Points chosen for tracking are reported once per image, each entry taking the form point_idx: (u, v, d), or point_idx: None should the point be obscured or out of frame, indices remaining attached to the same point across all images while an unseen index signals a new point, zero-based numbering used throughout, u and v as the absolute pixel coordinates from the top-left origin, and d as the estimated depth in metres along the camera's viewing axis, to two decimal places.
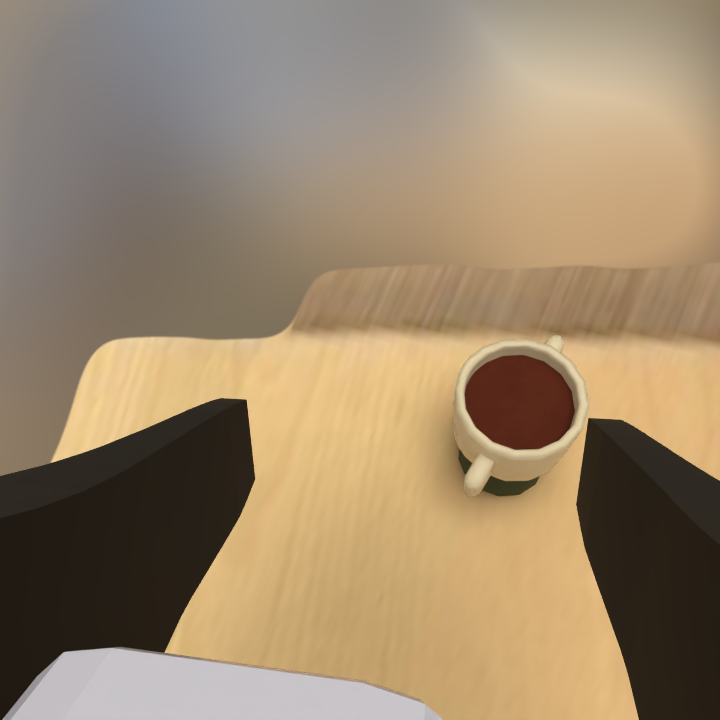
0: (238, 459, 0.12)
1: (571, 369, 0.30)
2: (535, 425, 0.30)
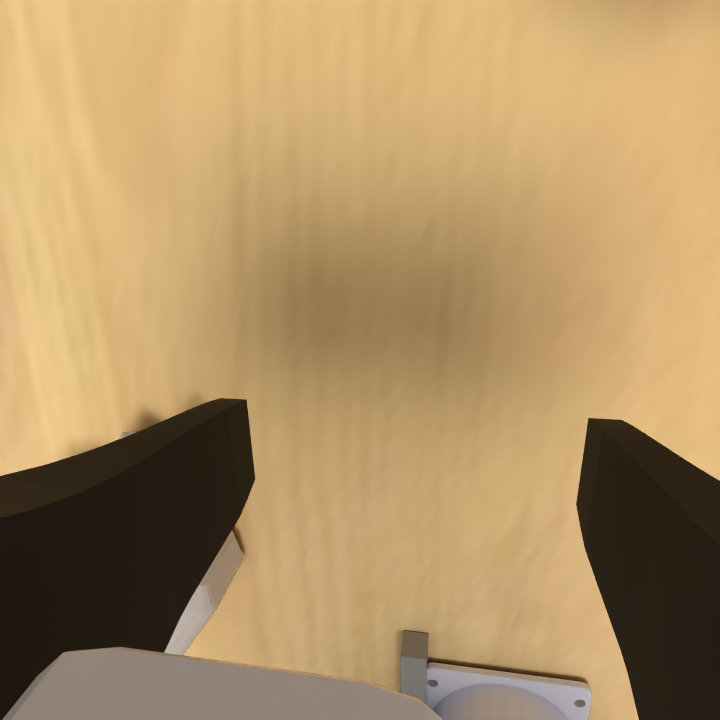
0: (238, 459, 0.12)
1: None
2: None
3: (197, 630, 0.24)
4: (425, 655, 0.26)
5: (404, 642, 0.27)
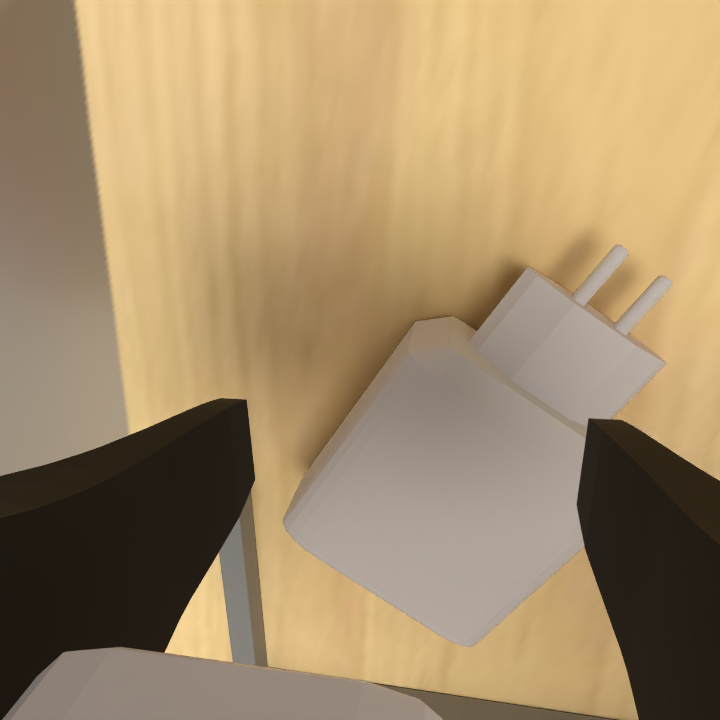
0: (238, 459, 0.12)
1: None
2: None
3: None
4: None
5: None
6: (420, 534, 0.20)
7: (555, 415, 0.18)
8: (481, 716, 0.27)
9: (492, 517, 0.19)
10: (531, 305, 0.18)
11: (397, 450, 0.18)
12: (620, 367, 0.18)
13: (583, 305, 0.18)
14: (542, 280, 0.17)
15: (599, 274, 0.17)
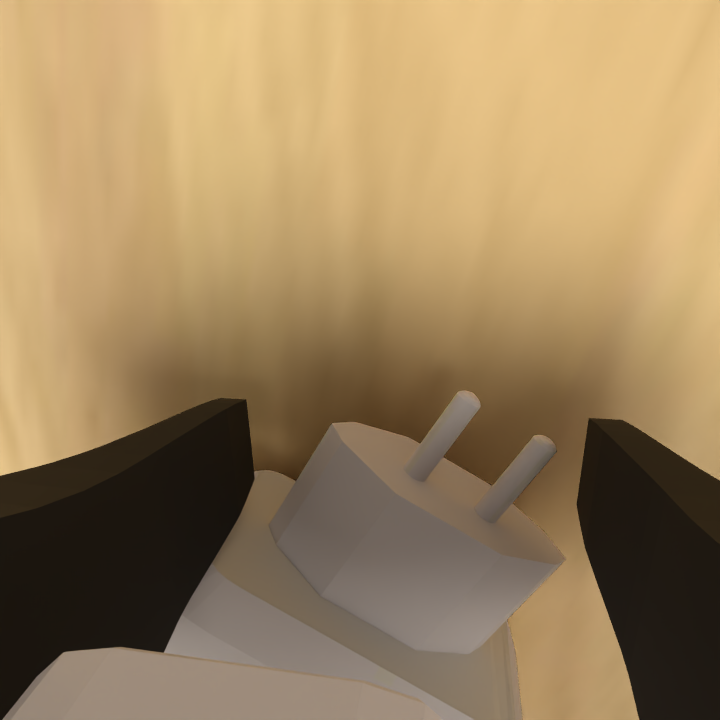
0: (238, 459, 0.12)
1: None
2: None
3: None
4: None
5: None
6: None
7: (388, 657, 0.11)
8: None
9: None
10: (337, 486, 0.11)
11: None
12: (484, 582, 0.11)
13: (422, 481, 0.11)
14: (348, 449, 0.11)
15: (438, 436, 0.11)
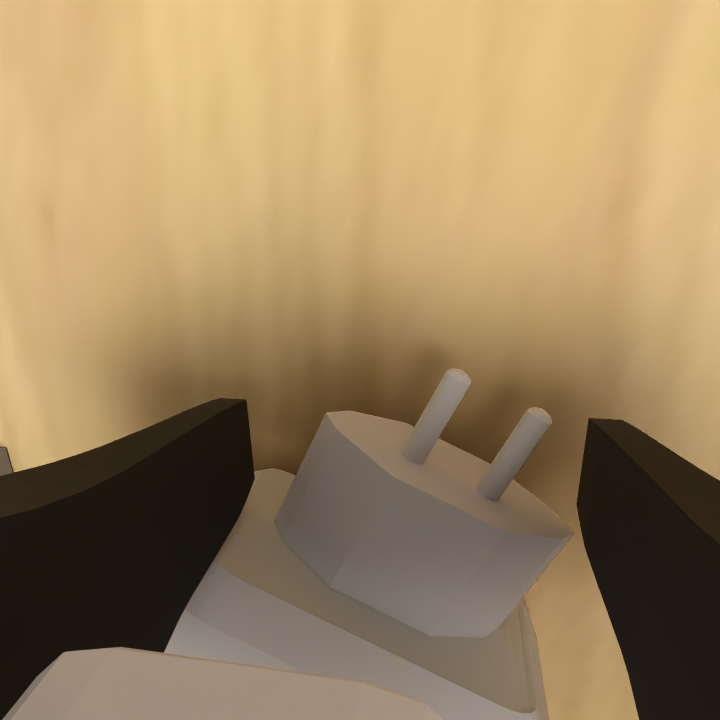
0: (238, 459, 0.12)
1: None
2: None
3: None
4: None
5: None
6: None
7: (400, 644, 0.11)
8: None
9: None
10: (336, 475, 0.11)
11: None
12: (490, 561, 0.11)
13: (420, 464, 0.11)
14: (343, 437, 0.11)
15: (432, 417, 0.11)
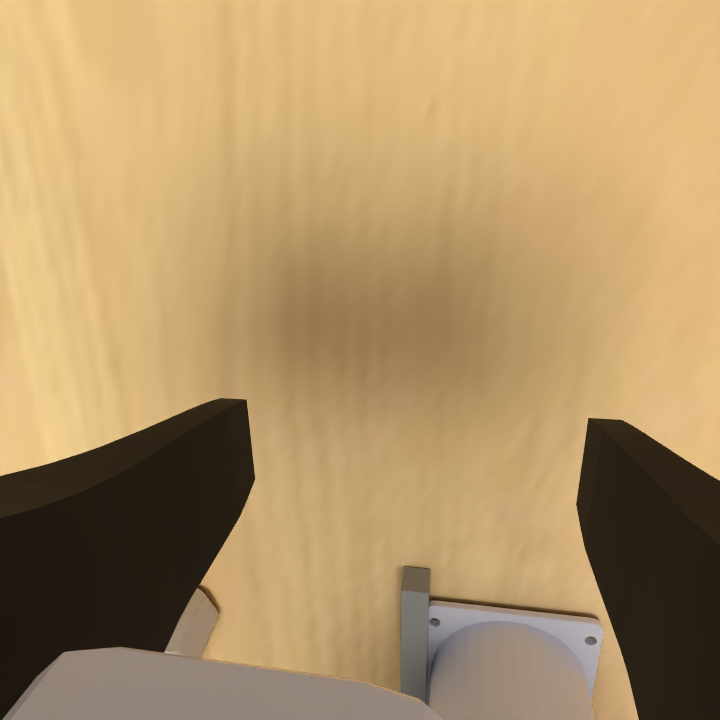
0: (238, 459, 0.12)
1: None
2: None
3: None
4: (427, 589, 0.24)
5: (405, 577, 0.25)
6: None
7: None
8: None
9: None
10: None
11: None
12: None
13: None
14: None
15: None
